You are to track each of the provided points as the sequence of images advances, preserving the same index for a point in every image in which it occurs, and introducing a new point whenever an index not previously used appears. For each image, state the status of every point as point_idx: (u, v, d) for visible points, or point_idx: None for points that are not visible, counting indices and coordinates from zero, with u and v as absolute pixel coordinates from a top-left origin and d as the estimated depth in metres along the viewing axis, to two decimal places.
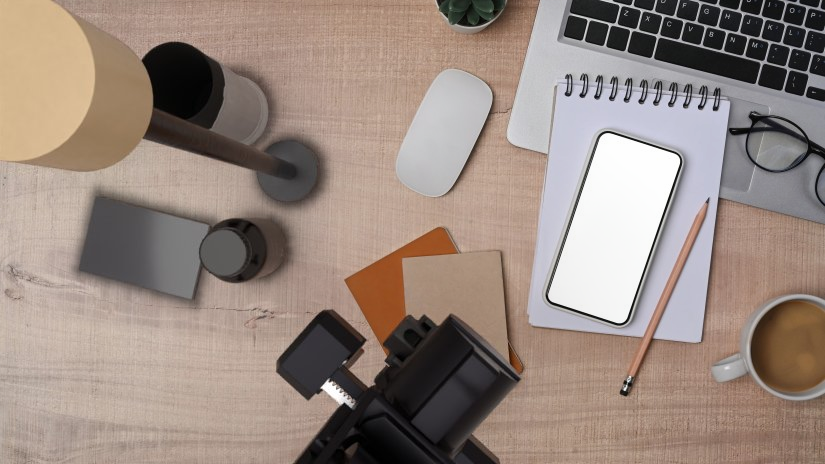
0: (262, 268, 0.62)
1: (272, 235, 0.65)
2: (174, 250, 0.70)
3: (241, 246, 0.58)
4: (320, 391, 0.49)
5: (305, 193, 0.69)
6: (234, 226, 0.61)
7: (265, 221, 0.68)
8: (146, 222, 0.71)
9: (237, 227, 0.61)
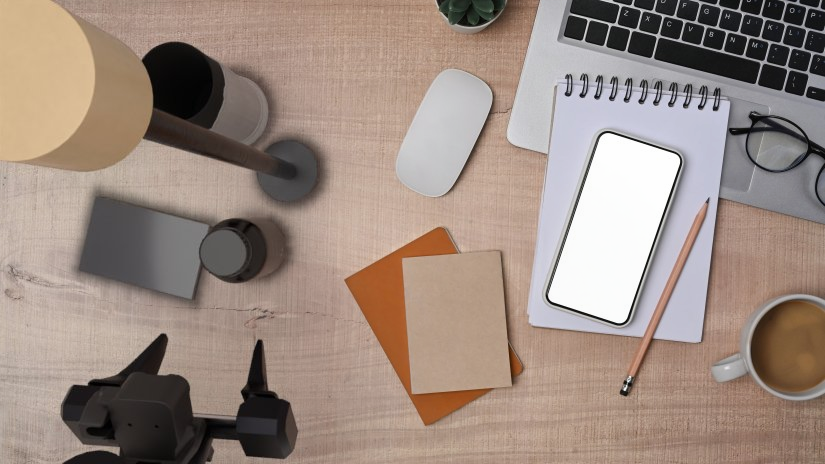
0: (262, 268, 0.62)
1: (272, 235, 0.65)
2: (174, 250, 0.70)
3: (241, 246, 0.58)
4: None
5: (305, 193, 0.69)
6: (234, 226, 0.61)
7: (265, 221, 0.68)
8: (146, 222, 0.71)
9: (237, 227, 0.61)
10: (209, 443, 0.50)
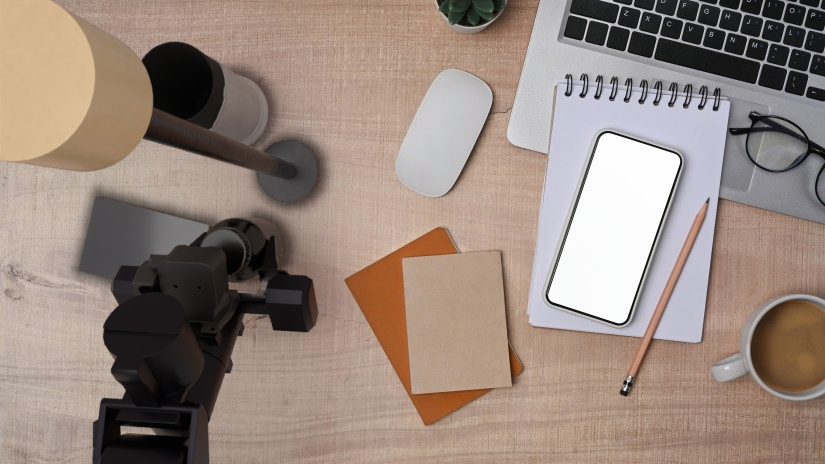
0: None
1: None
2: None
3: (241, 246, 0.58)
4: None
5: (305, 193, 0.69)
6: (234, 226, 0.61)
7: (265, 221, 0.68)
8: (146, 222, 0.71)
9: (237, 227, 0.61)
10: (241, 316, 0.57)
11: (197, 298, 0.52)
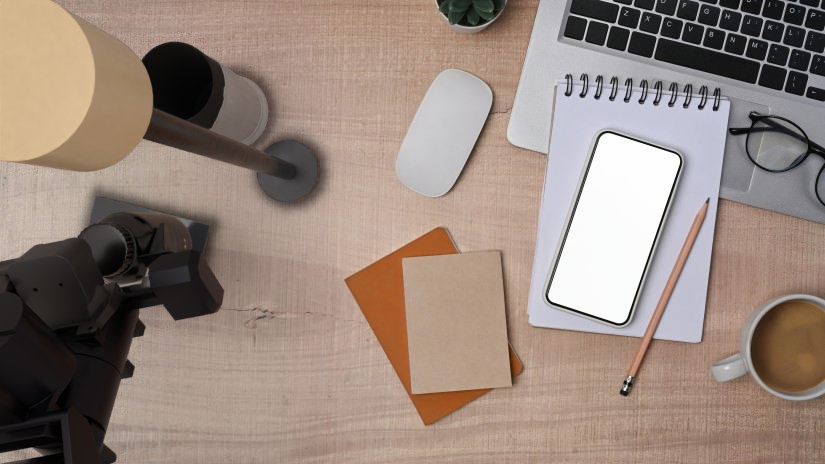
0: None
1: (165, 224, 0.59)
2: None
3: (119, 237, 0.52)
4: None
5: (305, 193, 0.69)
6: (113, 220, 0.55)
7: (159, 213, 0.61)
8: None
9: (116, 221, 0.55)
10: (133, 312, 0.50)
11: (63, 297, 0.45)
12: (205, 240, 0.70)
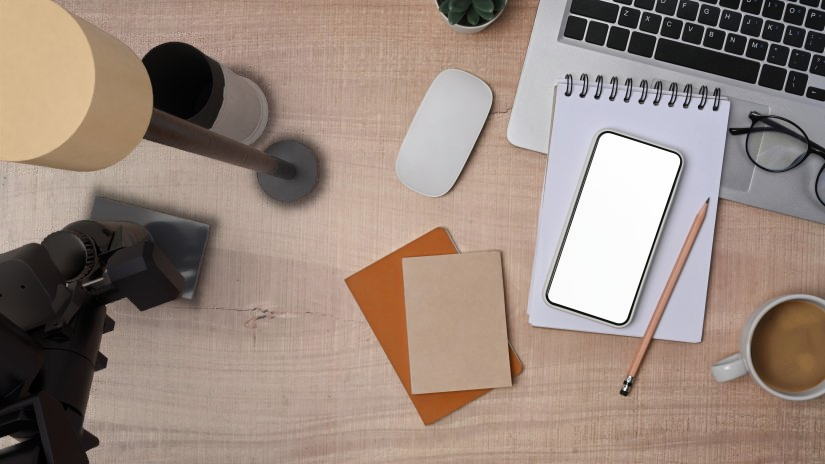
0: None
1: None
2: (174, 250, 0.70)
3: (77, 241, 0.55)
4: None
5: (305, 193, 0.69)
6: (72, 229, 0.58)
7: (118, 220, 0.65)
8: (146, 222, 0.71)
9: (75, 228, 0.58)
10: (99, 308, 0.53)
11: (27, 299, 0.48)
12: (205, 240, 0.70)
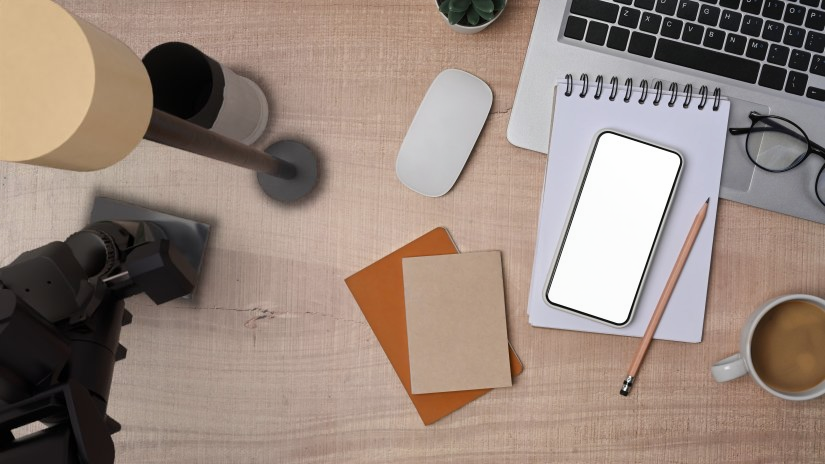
0: None
1: None
2: None
3: (98, 241, 0.59)
4: None
5: (305, 193, 0.69)
6: (92, 229, 0.61)
7: (134, 220, 0.68)
8: None
9: (95, 228, 0.61)
10: (118, 302, 0.57)
11: (53, 293, 0.51)
12: (205, 240, 0.70)
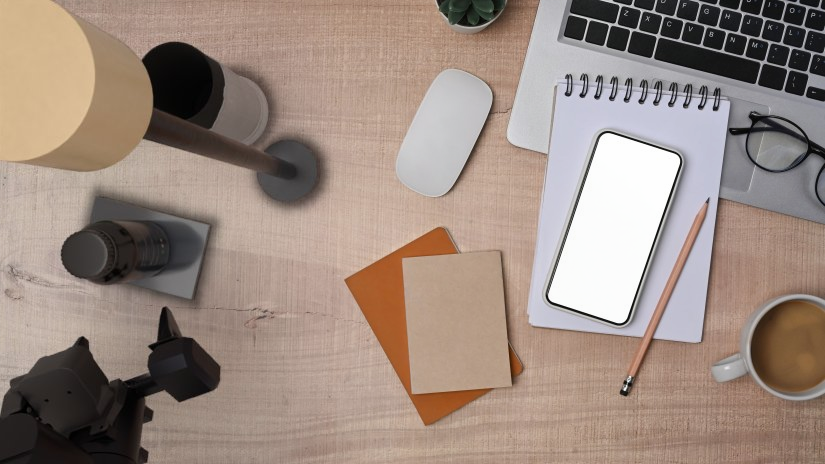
0: (136, 258, 0.62)
1: (140, 227, 0.65)
2: (174, 250, 0.70)
3: (98, 241, 0.59)
4: None
5: (305, 193, 0.69)
6: (92, 229, 0.61)
7: (134, 220, 0.68)
8: None
9: (95, 228, 0.61)
10: (139, 401, 0.54)
11: (73, 403, 0.49)
12: (205, 240, 0.70)
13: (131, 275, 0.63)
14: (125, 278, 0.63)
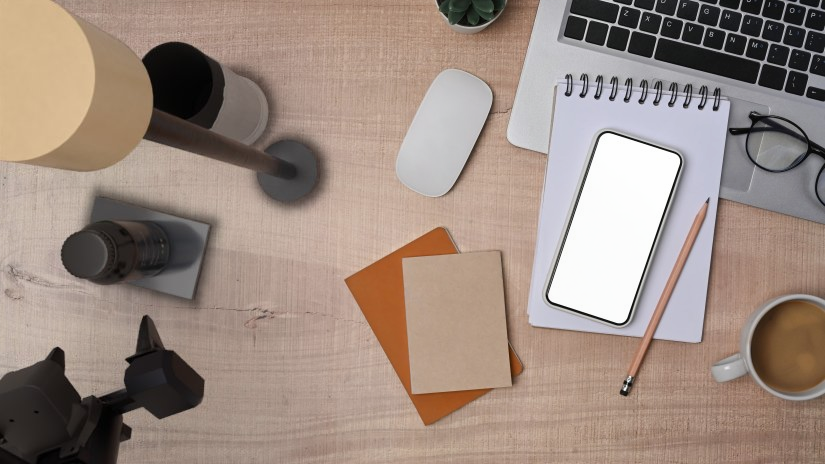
0: (136, 258, 0.62)
1: (140, 227, 0.65)
2: (174, 250, 0.70)
3: (98, 241, 0.59)
4: None
5: (305, 193, 0.69)
6: (92, 229, 0.61)
7: (134, 220, 0.68)
8: None
9: (95, 228, 0.61)
10: (115, 419, 0.50)
11: (41, 423, 0.45)
12: (205, 240, 0.70)
13: (131, 275, 0.63)
14: (125, 278, 0.63)
